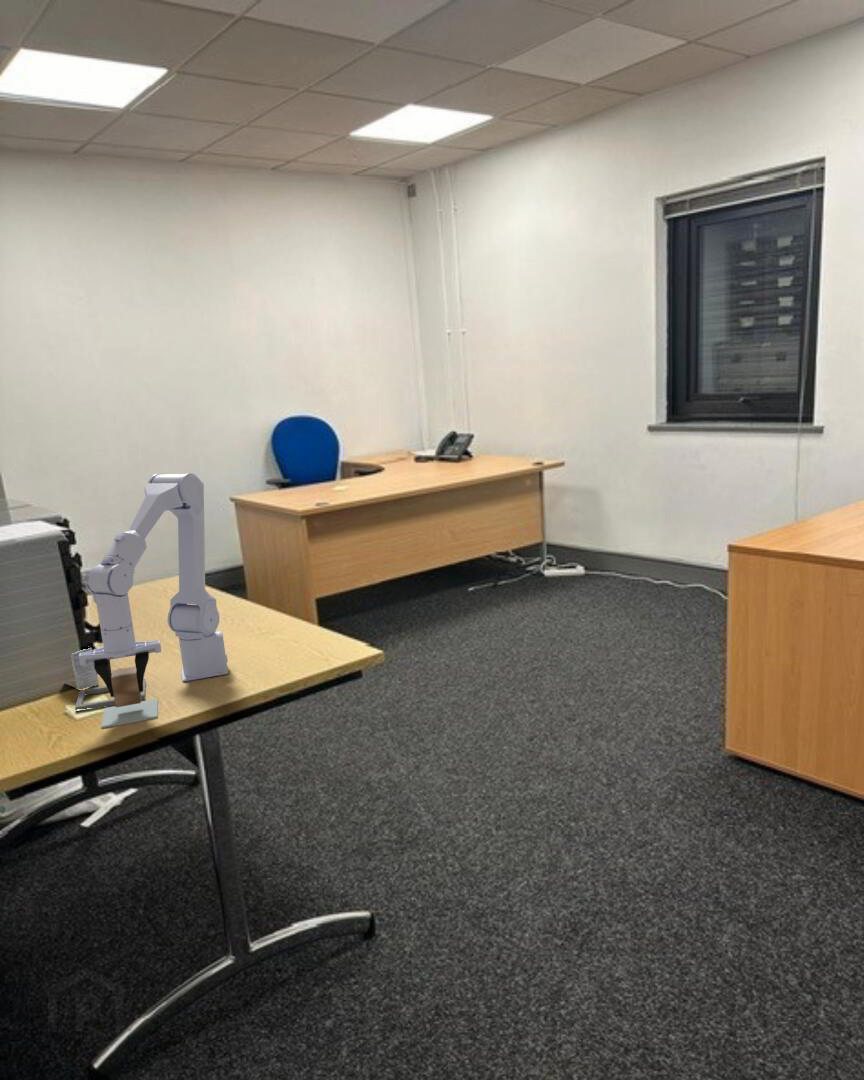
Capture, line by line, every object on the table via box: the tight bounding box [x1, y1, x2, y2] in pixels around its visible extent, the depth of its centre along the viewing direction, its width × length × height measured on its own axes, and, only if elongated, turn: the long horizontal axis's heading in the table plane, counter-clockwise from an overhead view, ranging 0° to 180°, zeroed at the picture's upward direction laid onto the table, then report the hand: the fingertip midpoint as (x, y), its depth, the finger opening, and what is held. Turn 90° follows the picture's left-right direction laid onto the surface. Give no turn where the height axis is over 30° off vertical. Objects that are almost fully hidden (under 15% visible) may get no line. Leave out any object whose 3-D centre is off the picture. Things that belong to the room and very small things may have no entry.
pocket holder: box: [74, 678, 147, 711], centre depth 161 cm, size 13×10×1 cm
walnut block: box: [111, 665, 142, 708], centre depth 151 cm, size 4×4×6 cm
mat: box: [101, 698, 159, 729], centre depth 152 cm, size 10×9×1 cm
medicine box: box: [71, 647, 99, 689], centre depth 168 cm, size 8×4×9 cm, turn 48°
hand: (127, 692), depth 151 cm, fingers closed on walnut block, 4 cm apart
